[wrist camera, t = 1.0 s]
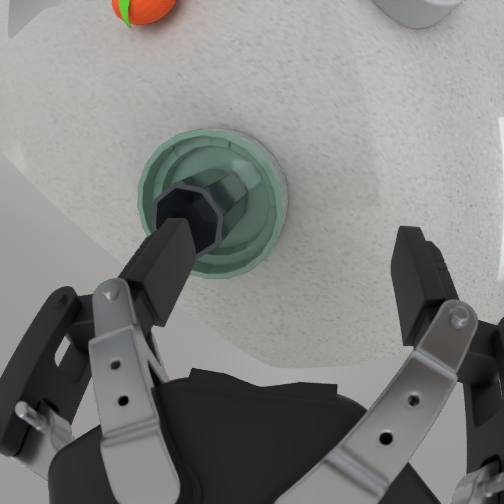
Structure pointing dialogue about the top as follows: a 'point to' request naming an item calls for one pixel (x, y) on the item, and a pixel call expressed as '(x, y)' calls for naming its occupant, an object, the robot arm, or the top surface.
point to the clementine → (141, 10)
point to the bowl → (250, 174)
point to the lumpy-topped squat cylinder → (417, 11)
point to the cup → (203, 206)
